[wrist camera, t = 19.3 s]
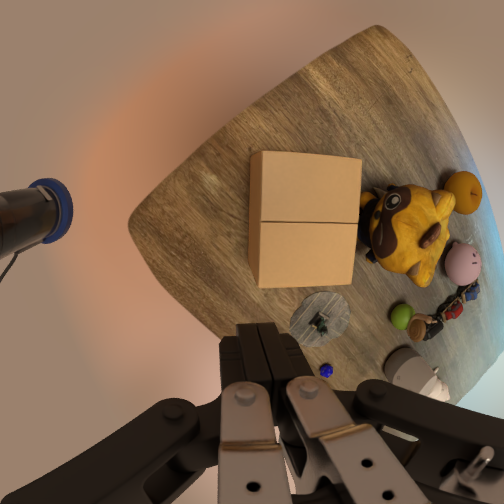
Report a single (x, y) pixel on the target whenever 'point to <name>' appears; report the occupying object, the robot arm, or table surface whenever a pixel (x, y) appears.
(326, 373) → the die
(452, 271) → the toy
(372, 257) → the toy character
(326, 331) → the sculpture
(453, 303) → the toy train
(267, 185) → the carton
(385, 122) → the table surface
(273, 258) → the flap
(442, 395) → the cat figurine
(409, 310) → the snail figurine
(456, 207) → the apple
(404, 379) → the smart speaker
